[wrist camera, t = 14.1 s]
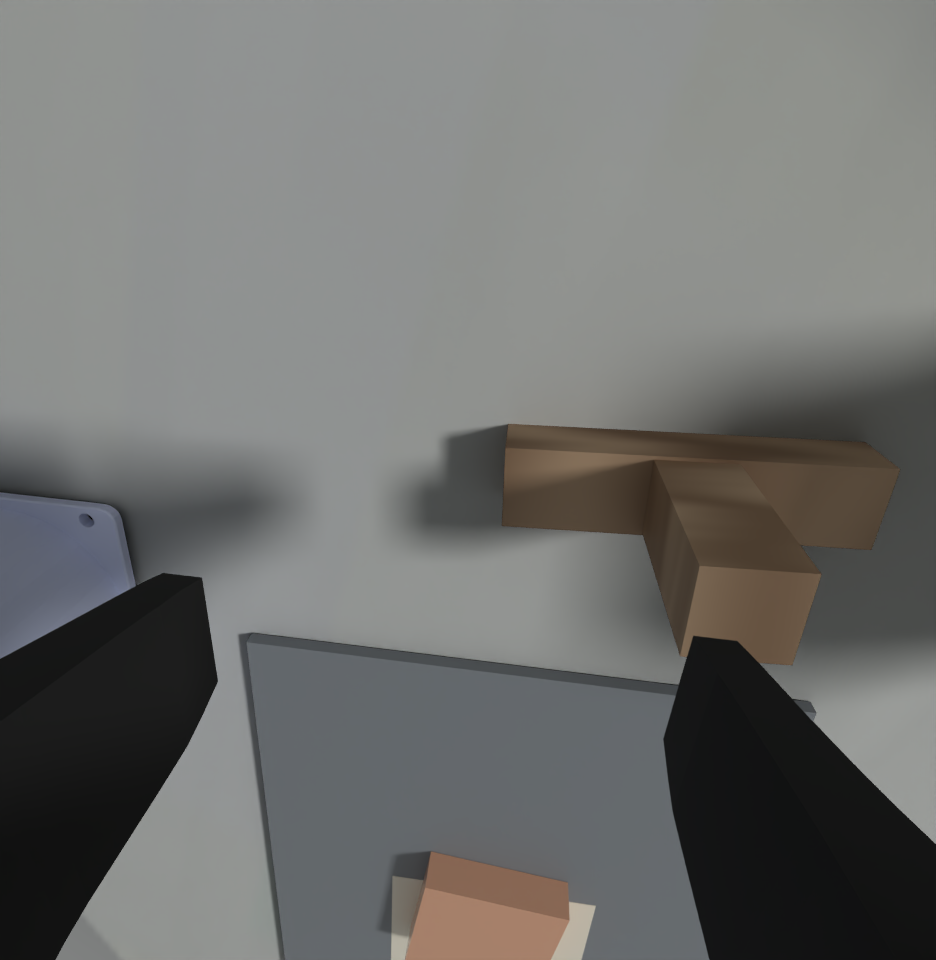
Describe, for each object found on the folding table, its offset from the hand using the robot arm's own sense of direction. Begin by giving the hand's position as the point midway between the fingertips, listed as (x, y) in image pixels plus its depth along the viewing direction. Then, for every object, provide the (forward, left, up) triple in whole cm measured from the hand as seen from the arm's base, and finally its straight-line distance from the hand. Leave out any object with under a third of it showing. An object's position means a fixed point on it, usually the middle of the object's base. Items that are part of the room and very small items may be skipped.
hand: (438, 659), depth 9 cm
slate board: (+2, -20, -10) cm, 22 cm away
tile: (+2, -23, -9) cm, 25 cm away
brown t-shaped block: (+6, -1, -10) cm, 12 cm away
